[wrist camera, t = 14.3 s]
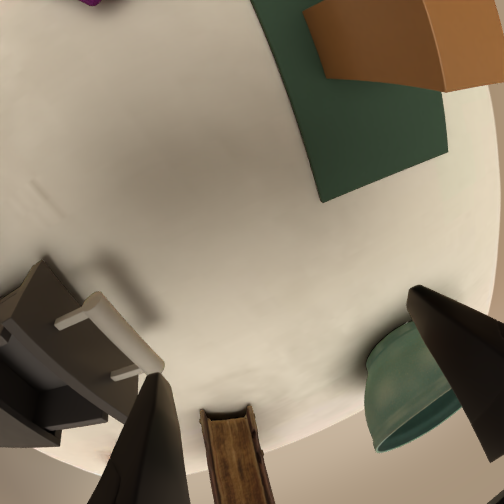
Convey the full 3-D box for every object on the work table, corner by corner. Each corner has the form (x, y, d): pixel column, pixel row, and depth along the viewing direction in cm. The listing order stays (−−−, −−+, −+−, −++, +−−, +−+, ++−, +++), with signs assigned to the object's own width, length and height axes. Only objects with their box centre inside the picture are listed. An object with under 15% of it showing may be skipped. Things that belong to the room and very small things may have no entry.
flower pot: (443, 342, 36) (481, 394, 27) (352, 399, 37) (381, 460, 28) (449, 270, 27) (512, 336, 18) (324, 348, 28) (368, 439, 20)
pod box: (301, 11, 12) (409, -33, 4) (370, 2, 12) (489, -16, 4) (326, 78, 15) (445, 93, 7) (390, 64, 15) (512, 81, 7)
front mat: (213, -74, 8) (213, -76, 8) (377, -80, 8) (380, -81, 8) (320, 201, 20) (322, 203, 19) (445, 150, 19) (448, 152, 19)
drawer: (88, 230, 16) (59, 290, 11) (182, 350, 23) (186, 411, 18) (-36, 315, 17) (-59, 360, 12) (46, 392, 24) (38, 437, 19)
